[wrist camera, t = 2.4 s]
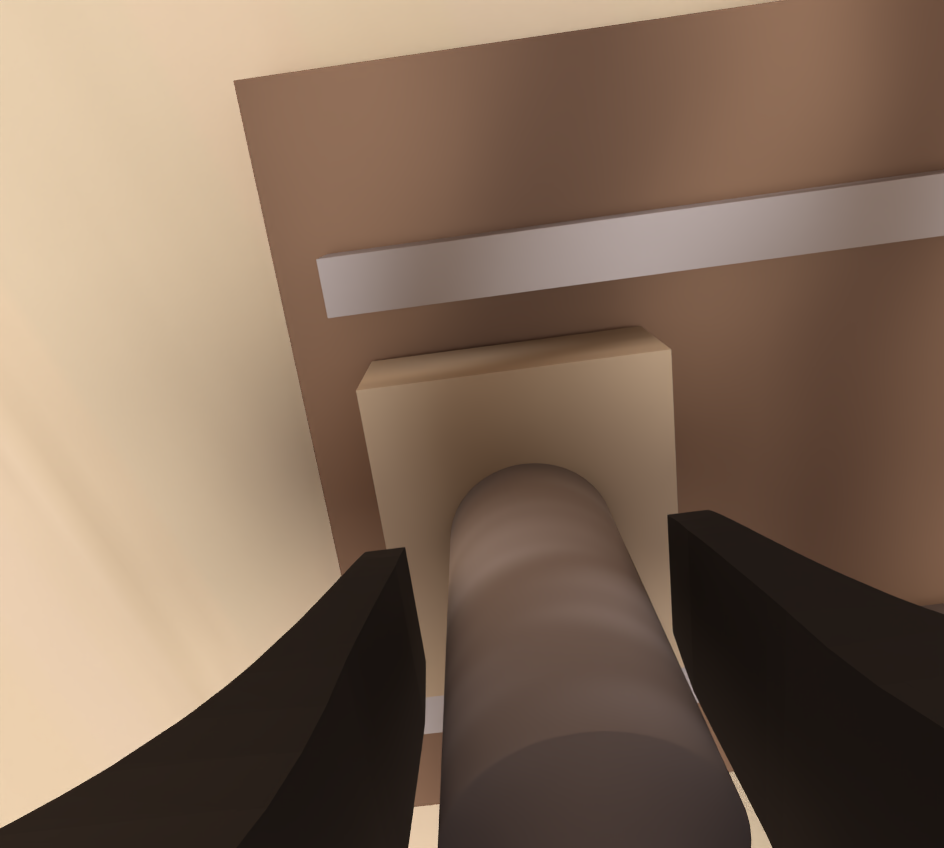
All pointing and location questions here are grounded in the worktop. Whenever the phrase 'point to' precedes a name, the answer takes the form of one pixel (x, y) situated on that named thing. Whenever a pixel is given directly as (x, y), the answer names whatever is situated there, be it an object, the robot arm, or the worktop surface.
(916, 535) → the board
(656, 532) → the press ram
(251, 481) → the worktop surface
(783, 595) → the robot arm
